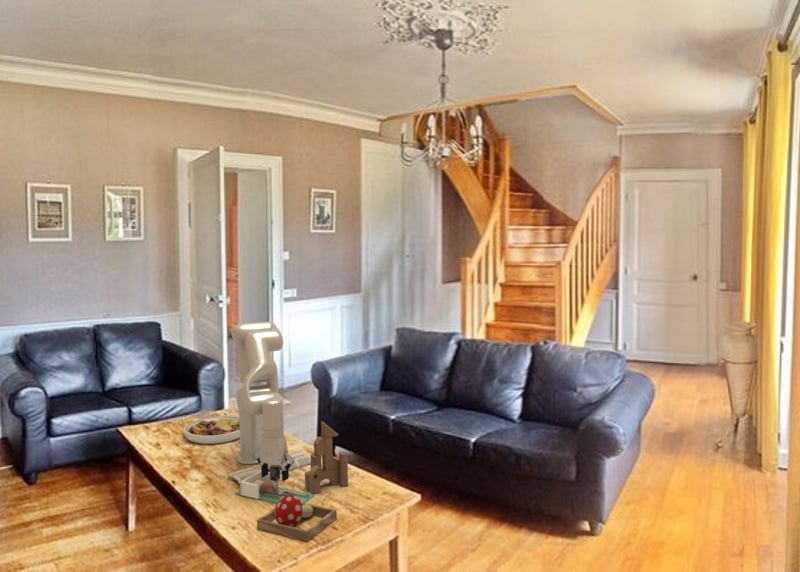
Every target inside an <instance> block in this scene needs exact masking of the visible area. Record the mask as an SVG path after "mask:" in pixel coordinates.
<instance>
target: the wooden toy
mask: <svg viewBox="0 0 800 572" xmlns="http://www.w3.org/2000/svg"><path fill="white" fill-rule="evenodd" d="M320 425H321V426H320V428H321V436H317V437H316V438H315V440H314V441H313V453H314V454H310V456H311V464H310V469H309V471H305V472H304V489H305V490H306V491H307V492H309V494H313V495H316V494H319V493H321V482H322V481H324V480H328V481H329V484H330V485H332V486H336V485H339V486H340V487H347V486H349V463H348V462H349V461H348V452H347V451H340V452H338V457H335V456H334V455H333V437H338V436H339V433H338V432H336V431H335V430H334V429H332V428H331V427H330V426H329V425H328V424H327V423H325V422H324V421H321V422H320Z"/></svg>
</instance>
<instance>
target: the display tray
mask: <svg viewBox="0 0 800 572" xmlns="http://www.w3.org/2000/svg"><path fill="white" fill-rule="evenodd" d="M301 504H302V505H305V504H308V505H310V506H311V507H312V508H313V514H312V515H313V516H317V517H320V518H321V519H320V520H318V521H317V522H316V523H315V524H313V525H312V526H310V528H308V529H302V528H299V527H290V526H286V525H282V524H278V522H274V520H276V518H275V508H273V509H271V510H270V511H269V512H267V513H265V514H264V515H262V516H261V517H259V518H258V519H256V528H257V530H261V531H264V532H268V533H272V534H275V535H276V534H277V535H280V536H283V537H288V538H291V539H296V540H300V541H303V542H309V541H311V540H312V539H313V538H315V537H316V536H317V535H318V534H319V533H321V532H322V531H324V529H326V528H327V527H328V526H329V525H331V524H332V523H333V522H334V521H335V520H337V509H332V508H327V507H323V506H319V505H314V504H310V503H306V502H305V503H302V502H301ZM312 515H311V516H312Z"/></svg>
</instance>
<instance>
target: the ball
mask: <svg viewBox="0 0 800 572" xmlns="http://www.w3.org/2000/svg"><path fill="white" fill-rule="evenodd" d="M263 483H264V482H263V481H262V480H256V481H255V482H254V484H259V491H261V487H260V485H262V484H263Z"/></svg>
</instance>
